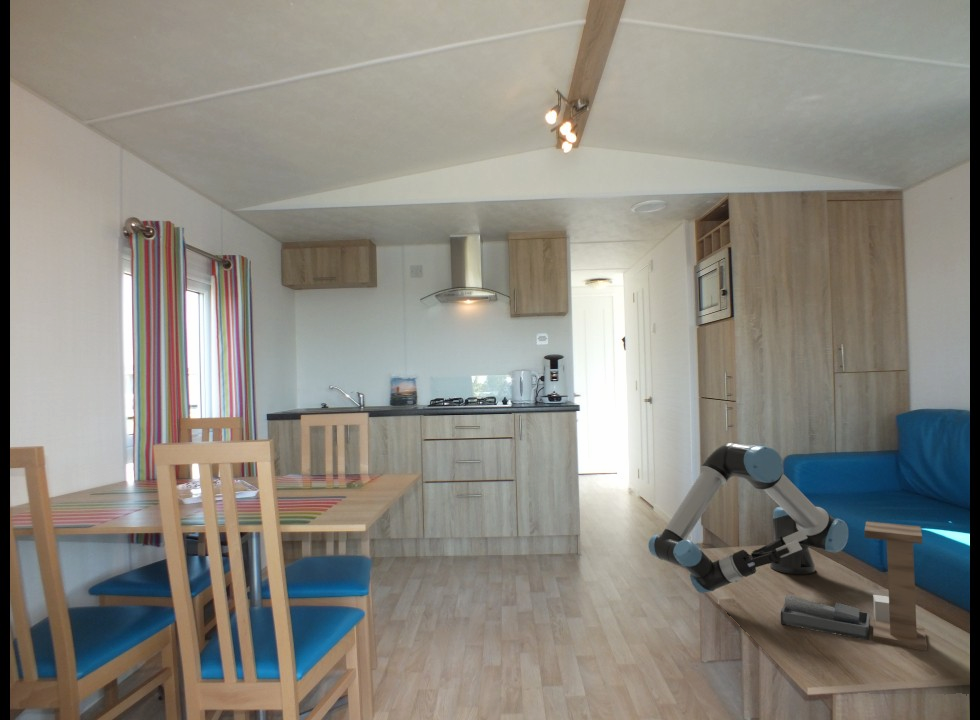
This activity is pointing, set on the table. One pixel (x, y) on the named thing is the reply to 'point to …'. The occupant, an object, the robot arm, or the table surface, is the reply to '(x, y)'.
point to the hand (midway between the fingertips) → (802, 539)
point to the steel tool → (823, 610)
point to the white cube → (881, 608)
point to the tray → (828, 623)
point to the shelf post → (899, 585)
